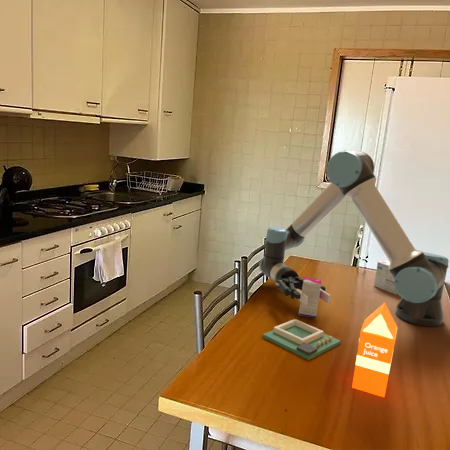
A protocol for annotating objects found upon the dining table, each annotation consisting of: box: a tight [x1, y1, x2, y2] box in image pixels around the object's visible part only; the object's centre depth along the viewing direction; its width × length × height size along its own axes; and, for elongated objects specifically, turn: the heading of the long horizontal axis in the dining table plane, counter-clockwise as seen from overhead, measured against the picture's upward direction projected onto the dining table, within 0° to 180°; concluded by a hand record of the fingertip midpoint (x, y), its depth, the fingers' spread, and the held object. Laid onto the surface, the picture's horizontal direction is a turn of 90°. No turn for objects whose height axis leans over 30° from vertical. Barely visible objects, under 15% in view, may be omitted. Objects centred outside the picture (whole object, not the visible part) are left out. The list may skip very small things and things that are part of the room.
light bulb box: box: [373, 260, 399, 295], centre depth 180 cm, size 11×7×11 cm, turn 34°
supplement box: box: [298, 276, 322, 319], centre depth 144 cm, size 6×6×12 cm
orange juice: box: [351, 301, 398, 398], centre depth 106 cm, size 8×9×20 cm
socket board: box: [262, 318, 342, 361], centre depth 128 cm, size 16×16×2 cm
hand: (318, 300), depth 140 cm, fingers closed on supplement box, 8 cm apart
